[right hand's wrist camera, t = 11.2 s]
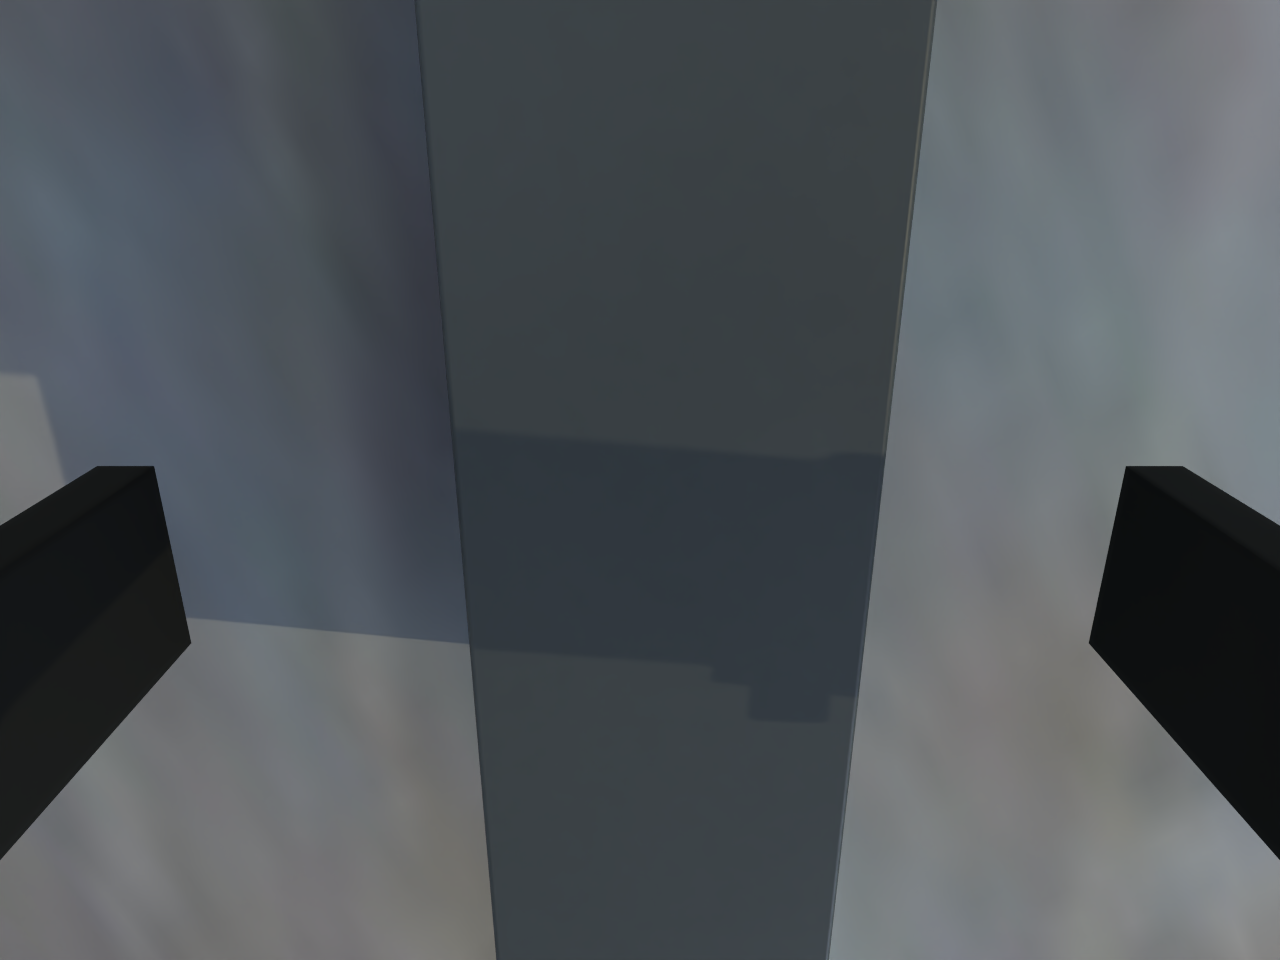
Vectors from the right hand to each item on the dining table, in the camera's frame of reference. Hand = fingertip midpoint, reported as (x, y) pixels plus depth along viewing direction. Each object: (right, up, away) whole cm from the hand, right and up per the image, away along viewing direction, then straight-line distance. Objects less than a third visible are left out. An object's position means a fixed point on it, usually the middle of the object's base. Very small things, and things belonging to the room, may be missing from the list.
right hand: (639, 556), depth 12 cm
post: (0, +27, -5) cm, 27 cm away
